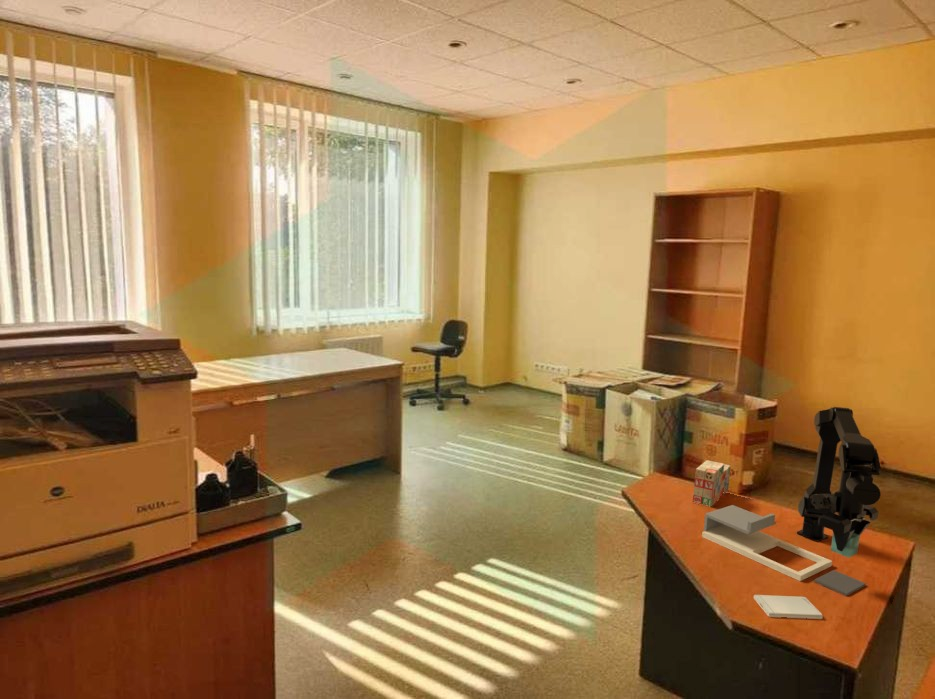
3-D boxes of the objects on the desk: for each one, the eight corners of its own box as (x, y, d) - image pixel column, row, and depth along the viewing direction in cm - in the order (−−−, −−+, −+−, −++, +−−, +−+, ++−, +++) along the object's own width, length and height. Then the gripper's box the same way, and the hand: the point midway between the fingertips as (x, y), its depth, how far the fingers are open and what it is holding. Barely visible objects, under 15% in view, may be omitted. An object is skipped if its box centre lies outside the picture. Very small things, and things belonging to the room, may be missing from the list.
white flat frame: (733, 525, 196) (734, 520, 196) (831, 566, 172) (832, 560, 172) (701, 536, 187) (702, 531, 187) (800, 581, 163) (800, 575, 163)
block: (839, 546, 164) (841, 528, 164) (857, 553, 161) (859, 535, 160) (830, 550, 162) (833, 532, 161) (848, 557, 158) (851, 538, 158)
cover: (730, 520, 196) (733, 497, 194) (773, 538, 184) (776, 513, 183) (703, 529, 188) (706, 506, 187) (746, 548, 177) (749, 523, 175)
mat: (833, 572, 169) (833, 569, 169) (865, 585, 162) (865, 583, 162) (813, 581, 163) (814, 579, 163) (846, 596, 157) (846, 593, 157)
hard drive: (804, 596, 154) (753, 593, 154) (823, 614, 146) (769, 612, 146) (803, 602, 154) (753, 599, 154) (822, 621, 146) (768, 618, 146)
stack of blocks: (710, 485, 230) (714, 453, 228) (728, 490, 227) (732, 457, 225) (692, 503, 213) (695, 468, 211) (711, 508, 210) (714, 472, 208)
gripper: (837, 474, 171) (830, 528, 173) (801, 486, 160) (793, 543, 163) (882, 487, 162) (874, 544, 164) (847, 501, 151) (838, 562, 154)
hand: (844, 548), depth 161 cm, fingers closed on block, 4 cm apart
